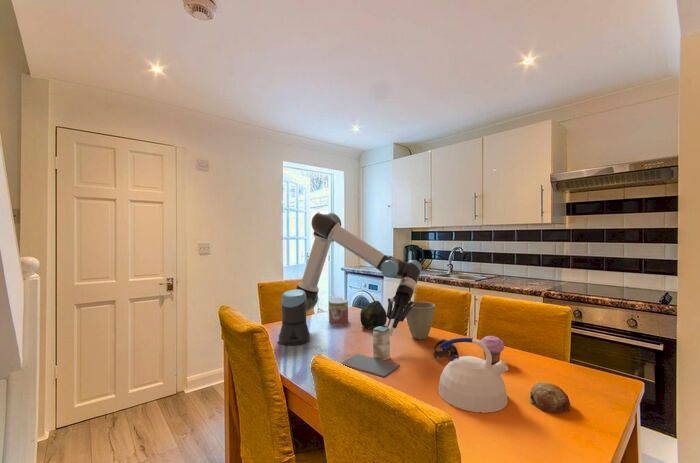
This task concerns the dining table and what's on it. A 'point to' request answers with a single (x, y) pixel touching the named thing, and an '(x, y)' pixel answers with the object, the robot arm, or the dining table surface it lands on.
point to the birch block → (381, 343)
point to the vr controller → (445, 350)
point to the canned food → (338, 311)
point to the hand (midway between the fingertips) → (389, 333)
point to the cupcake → (493, 347)
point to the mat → (371, 365)
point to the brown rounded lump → (549, 398)
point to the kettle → (473, 381)
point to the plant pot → (420, 319)
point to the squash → (373, 315)
